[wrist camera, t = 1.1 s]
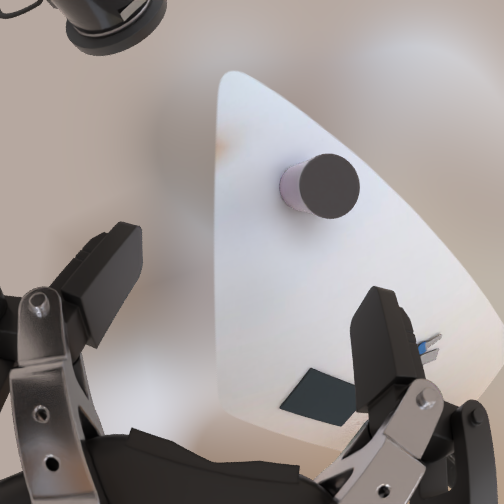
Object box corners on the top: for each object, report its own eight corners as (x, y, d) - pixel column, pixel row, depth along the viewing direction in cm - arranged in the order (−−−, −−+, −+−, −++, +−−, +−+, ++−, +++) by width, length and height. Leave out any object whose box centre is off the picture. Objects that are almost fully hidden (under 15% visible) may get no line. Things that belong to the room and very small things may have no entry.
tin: (269, 195, 29) (286, 196, 21) (294, 153, 29) (320, 140, 21) (310, 220, 30) (340, 231, 22) (334, 180, 30) (370, 177, 22)
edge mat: (279, 406, 35) (280, 408, 34) (310, 367, 34) (311, 369, 33) (340, 425, 37) (341, 426, 36) (370, 390, 36) (371, 392, 35)
